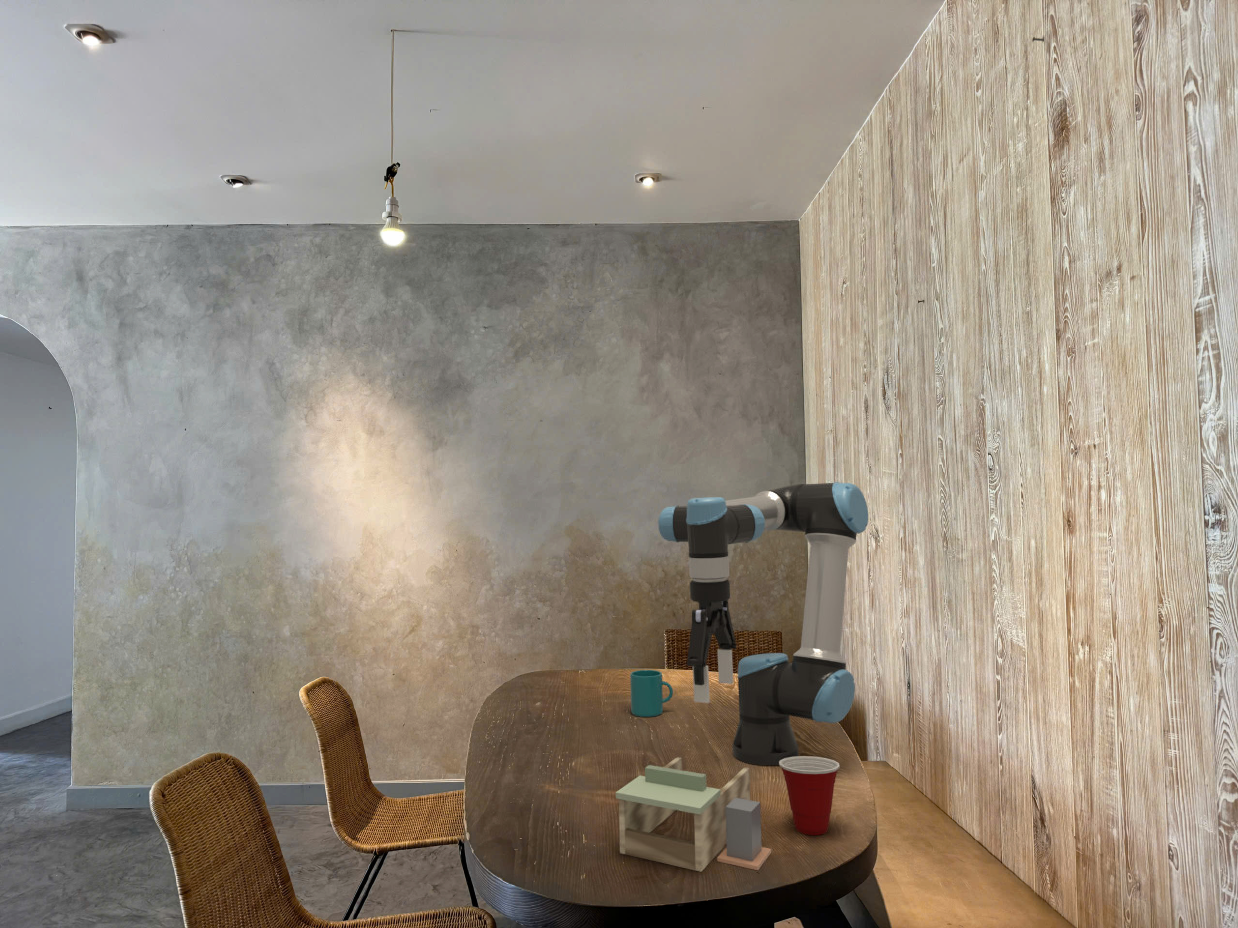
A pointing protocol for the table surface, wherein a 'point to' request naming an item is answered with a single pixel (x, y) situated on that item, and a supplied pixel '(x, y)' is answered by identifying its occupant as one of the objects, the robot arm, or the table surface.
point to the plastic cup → (810, 791)
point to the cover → (670, 790)
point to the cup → (647, 693)
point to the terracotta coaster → (745, 863)
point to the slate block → (743, 829)
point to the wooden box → (673, 851)
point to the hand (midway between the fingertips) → (714, 692)
